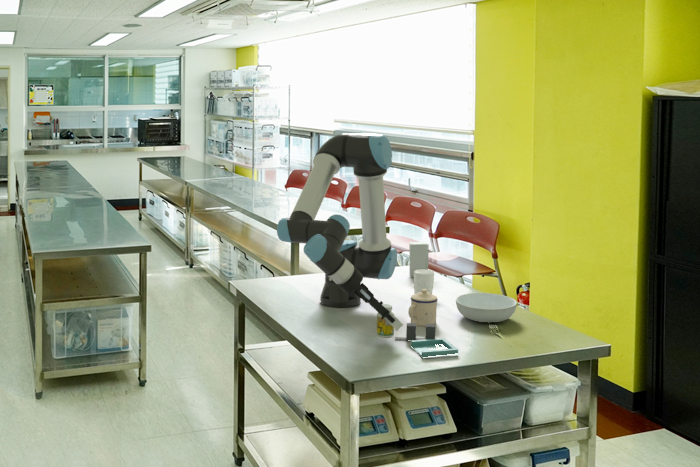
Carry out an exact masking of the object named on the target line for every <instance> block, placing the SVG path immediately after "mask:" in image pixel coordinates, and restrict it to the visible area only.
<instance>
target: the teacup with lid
mask: <svg viewBox="0 0 700 467" xmlns="http://www.w3.org/2000/svg"><path fill="white" fill-rule="evenodd" d="M410 300H411V301H410V304H411V305H410V306H409V307H408V316H409V318H410V323H416V326H419V327H426V324H435V325H436V323H437V309H438V308H437V305H438V304H437V302H438V297H437V295H435V294H433V293H432V294H430V293H429V292H427V290H426V289H422V290H421V292H419V293H417V294H412V295H411V296H410Z"/></svg>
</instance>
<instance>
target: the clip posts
mask: <svg viewBox="0 0 700 467" xmlns="http://www.w3.org/2000/svg"><path fill="white" fill-rule="evenodd" d="M405 332H406V335H405V337H404V336H395V338H394V341H401V340H406V341H405V342H409V341H408V340H411V341H412V340H425V339H436V323H435V324H426V326H425V335H424V336H425V337H417V325H416V323H411V322H406V331H405ZM411 341H410V342H411Z"/></svg>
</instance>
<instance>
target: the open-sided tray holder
mask: <svg viewBox="0 0 700 467" xmlns="http://www.w3.org/2000/svg"><path fill="white" fill-rule="evenodd" d="M435 344H436V345H437V344H438V345H439V344H443V345H444V346H445V347H447V348H448V349H442V350H428V349H429V348H430V349H431V348H433V349H434V348H435V349H436V346H435ZM411 346H412V347H413V348H414V349H415V350H416V351H417V352H418V353H419V354H420V355H421V356H422V357H428V356H436V355H447V354H455V353H458V354H459V349H458V348H457V347H456V346H455V345H453V344H452V343H451V342H450V341H448V340H447V338H445V337H441V338H435V339H425V340H412V341H410V347H411ZM439 347H442V346H441V345H439ZM437 348H438V347H437ZM421 356H420V357H421ZM422 357H421V358H422Z"/></svg>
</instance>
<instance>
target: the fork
mask: <svg viewBox="0 0 700 467" xmlns="http://www.w3.org/2000/svg"><path fill="white" fill-rule="evenodd" d="M488 327H489V329H490V328H491V329H492V328H493V329H494V328H495V329H496V328H498V325H494V324H489V326H488Z"/></svg>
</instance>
